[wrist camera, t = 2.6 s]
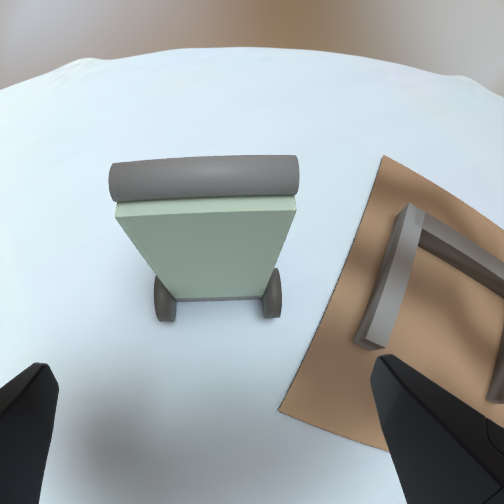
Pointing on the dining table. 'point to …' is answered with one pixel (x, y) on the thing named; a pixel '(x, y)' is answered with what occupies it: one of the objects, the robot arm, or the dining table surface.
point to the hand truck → (209, 225)
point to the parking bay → (408, 308)
